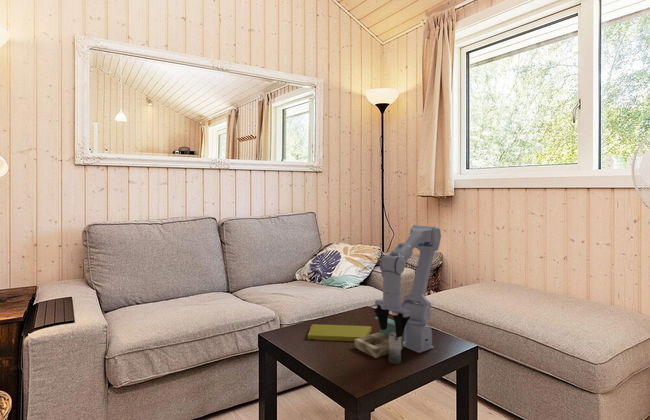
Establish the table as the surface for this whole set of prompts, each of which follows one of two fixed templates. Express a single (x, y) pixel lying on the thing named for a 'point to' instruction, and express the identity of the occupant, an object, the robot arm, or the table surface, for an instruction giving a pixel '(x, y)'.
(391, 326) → the teal block
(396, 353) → the peg
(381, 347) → the socket block
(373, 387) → the table surface
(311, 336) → the flat olive board
